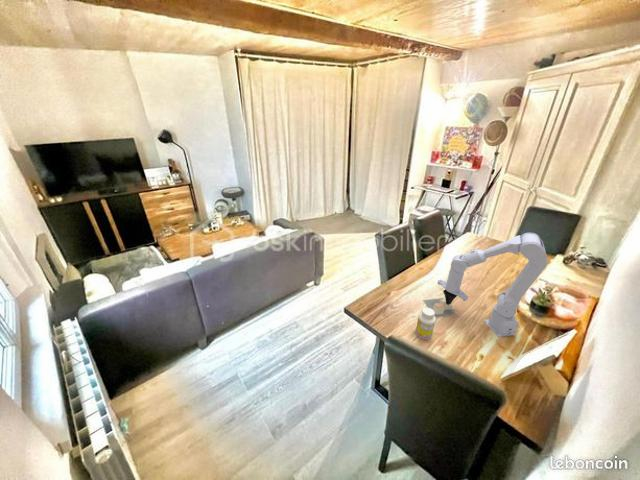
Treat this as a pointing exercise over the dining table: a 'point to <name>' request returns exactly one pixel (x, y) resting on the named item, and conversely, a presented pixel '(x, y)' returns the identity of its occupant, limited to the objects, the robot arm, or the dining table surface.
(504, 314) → the robot arm
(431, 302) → the mat
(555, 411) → the dining table surface
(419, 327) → the supplement bottle
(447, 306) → the slab
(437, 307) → the slab
